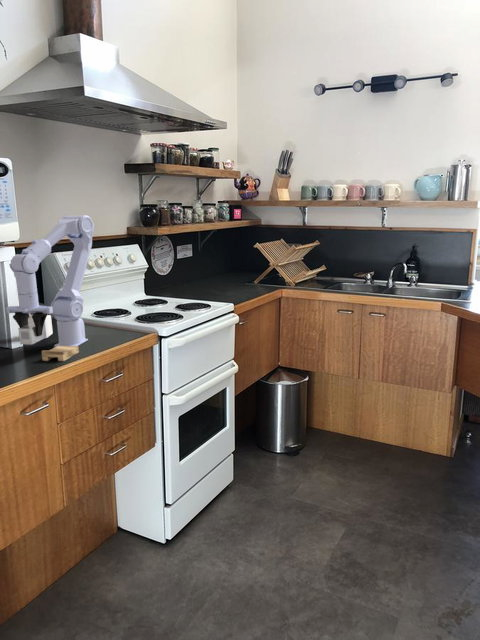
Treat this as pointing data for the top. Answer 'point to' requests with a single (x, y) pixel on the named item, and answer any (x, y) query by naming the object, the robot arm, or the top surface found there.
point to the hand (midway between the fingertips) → (32, 335)
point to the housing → (30, 334)
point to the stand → (60, 353)
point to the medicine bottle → (46, 324)
